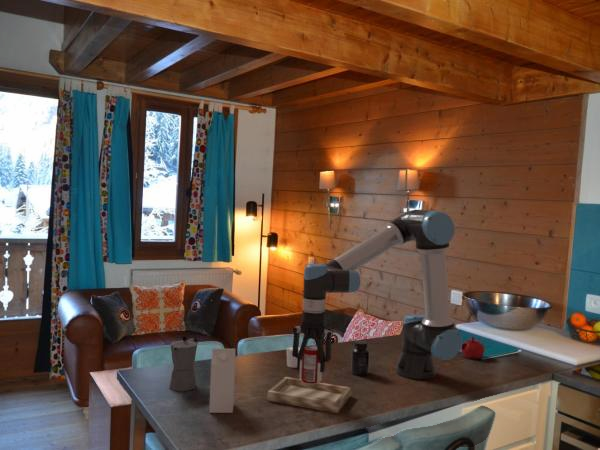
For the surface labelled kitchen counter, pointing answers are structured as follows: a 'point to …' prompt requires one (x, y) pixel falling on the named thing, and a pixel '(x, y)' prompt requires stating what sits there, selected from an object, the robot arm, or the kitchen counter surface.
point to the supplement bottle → (360, 359)
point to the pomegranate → (472, 349)
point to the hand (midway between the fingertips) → (310, 379)
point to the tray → (310, 395)
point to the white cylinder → (291, 357)
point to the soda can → (310, 365)
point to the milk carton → (222, 380)
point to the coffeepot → (183, 364)
